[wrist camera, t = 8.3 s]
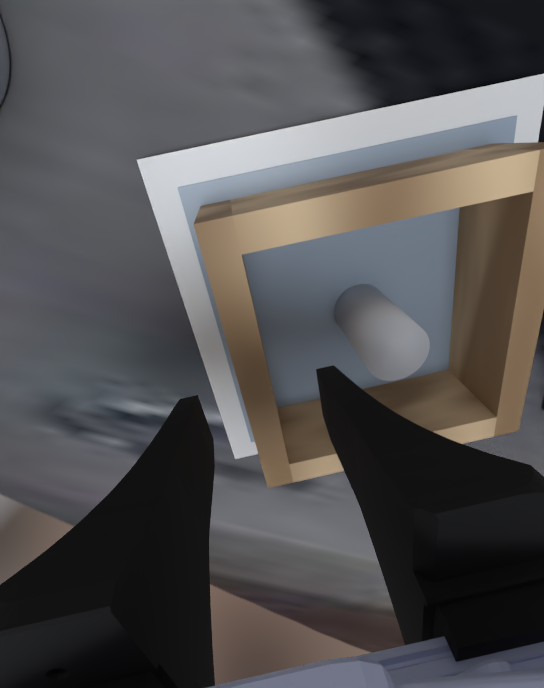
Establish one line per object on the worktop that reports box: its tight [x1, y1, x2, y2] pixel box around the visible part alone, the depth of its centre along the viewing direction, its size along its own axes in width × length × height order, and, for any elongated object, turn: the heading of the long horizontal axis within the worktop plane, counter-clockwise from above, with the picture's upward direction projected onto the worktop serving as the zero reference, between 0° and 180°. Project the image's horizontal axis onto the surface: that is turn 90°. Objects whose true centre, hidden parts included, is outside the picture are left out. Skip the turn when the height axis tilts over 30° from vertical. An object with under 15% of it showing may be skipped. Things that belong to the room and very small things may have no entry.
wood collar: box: [194, 142, 544, 488], centre depth 16 cm, size 12×12×4 cm
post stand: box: [137, 74, 544, 459], centre depth 16 cm, size 16×16×6 cm
